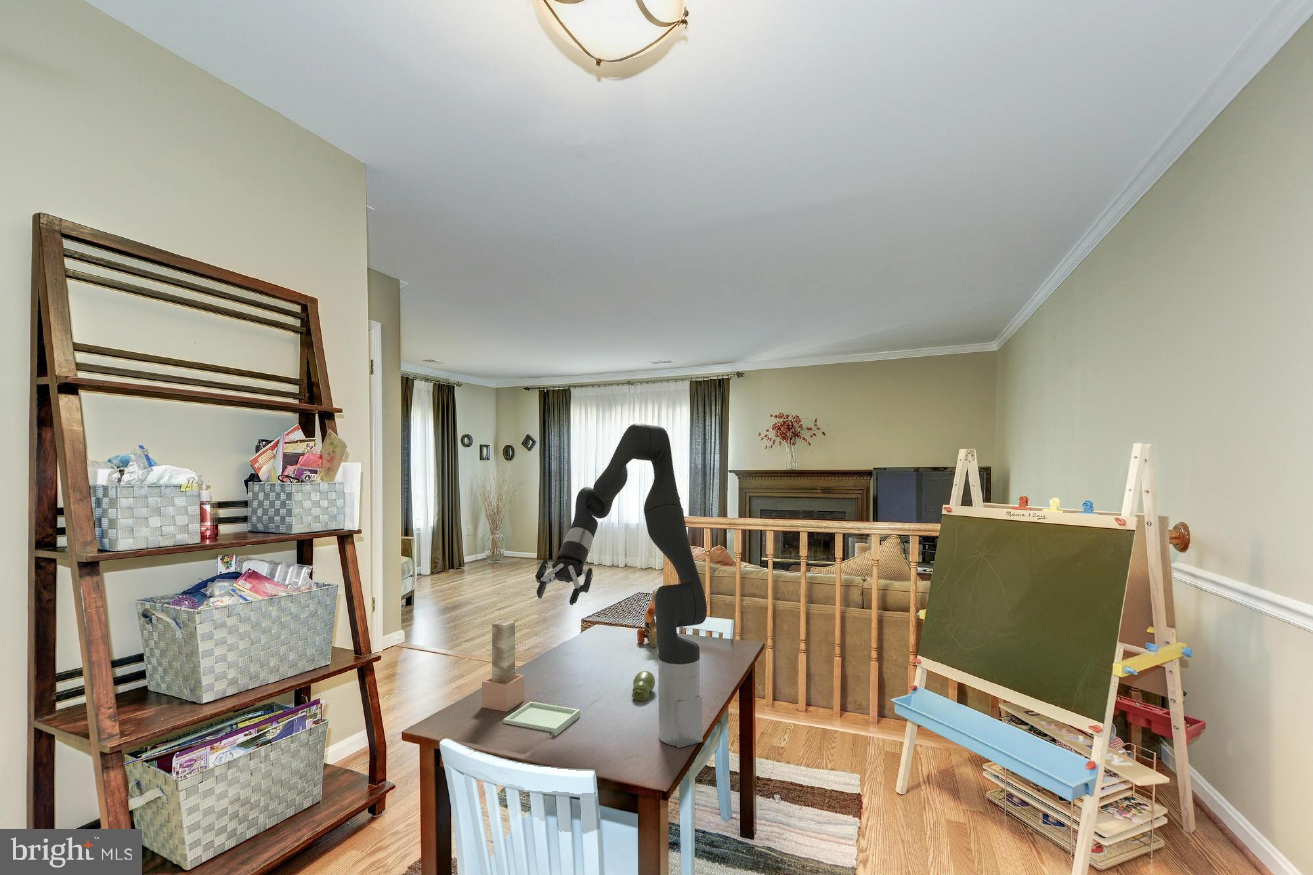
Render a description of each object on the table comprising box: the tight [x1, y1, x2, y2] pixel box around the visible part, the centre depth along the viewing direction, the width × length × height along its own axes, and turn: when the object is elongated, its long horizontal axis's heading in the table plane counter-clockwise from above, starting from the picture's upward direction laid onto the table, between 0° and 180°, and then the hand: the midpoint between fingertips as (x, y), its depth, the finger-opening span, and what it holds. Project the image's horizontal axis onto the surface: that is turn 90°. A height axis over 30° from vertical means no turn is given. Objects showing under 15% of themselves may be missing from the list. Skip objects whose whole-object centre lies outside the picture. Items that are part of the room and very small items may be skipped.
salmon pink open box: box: [481, 673, 526, 712], centre depth 149 cm, size 7×7×7 cm
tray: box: [503, 701, 581, 737], centre depth 140 cm, size 14×11×2 cm
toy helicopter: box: [636, 601, 658, 649], centre depth 195 cm, size 8×21×14 cm, turn 12°
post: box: [491, 619, 516, 684], centre depth 149 cm, size 4×4×20 cm
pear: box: [631, 670, 656, 702], centre depth 156 cm, size 6×5×10 cm
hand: (555, 600), depth 151 cm, fingers open, 8 cm apart
